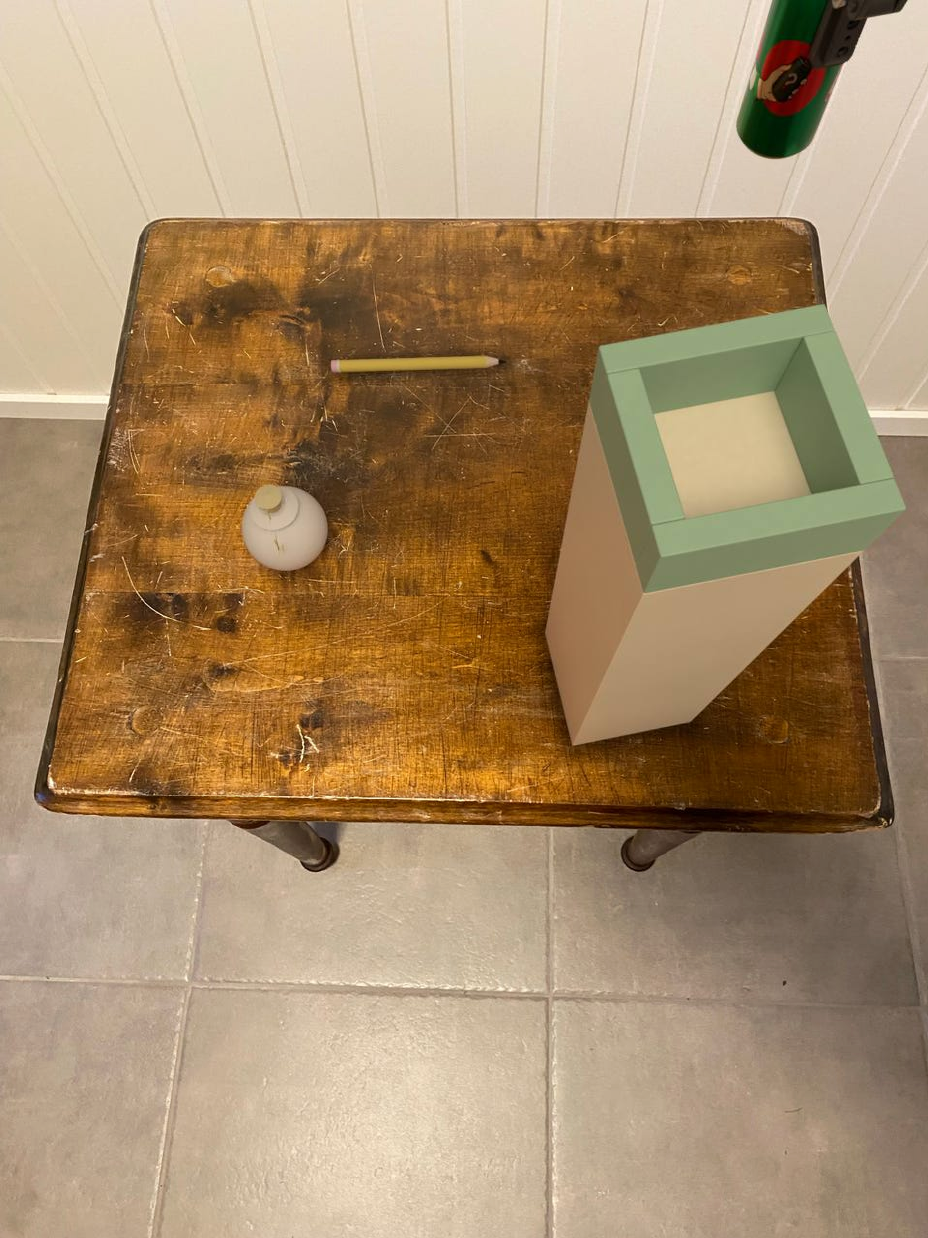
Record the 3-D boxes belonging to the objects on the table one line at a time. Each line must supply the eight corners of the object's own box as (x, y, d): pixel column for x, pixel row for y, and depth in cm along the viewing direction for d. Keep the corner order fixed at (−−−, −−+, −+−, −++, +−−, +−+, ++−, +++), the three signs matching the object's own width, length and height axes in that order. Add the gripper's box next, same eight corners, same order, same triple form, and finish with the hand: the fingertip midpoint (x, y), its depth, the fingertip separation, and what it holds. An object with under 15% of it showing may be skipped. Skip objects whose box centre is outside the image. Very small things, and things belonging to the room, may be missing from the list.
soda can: (823, 155, 57) (904, -35, 46) (748, 171, 57) (810, -15, 46) (796, 98, 59) (867, -99, 47) (723, 114, 58) (777, -80, 47)
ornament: (326, 501, 67) (299, 432, 58) (344, 590, 65) (318, 534, 55) (248, 518, 67) (208, 452, 57) (263, 608, 64) (223, 555, 55)
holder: (658, 609, 64) (825, 302, 32) (690, 722, 61) (907, 508, 29) (544, 632, 63) (598, 345, 32) (572, 746, 61) (660, 557, 29)
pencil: (507, 370, 70) (507, 362, 69) (332, 375, 71) (330, 367, 70) (506, 359, 71) (507, 351, 70) (333, 364, 71) (331, 357, 70)
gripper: (1124, -296, 33) (917, 106, 49) (975, -496, 37) (832, -68, 53) (928, -261, 32) (786, 131, 48) (803, -467, 37) (711, -47, 53)
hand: (810, 25), depth 51 cm, fingers closed on soda can, 5 cm apart
